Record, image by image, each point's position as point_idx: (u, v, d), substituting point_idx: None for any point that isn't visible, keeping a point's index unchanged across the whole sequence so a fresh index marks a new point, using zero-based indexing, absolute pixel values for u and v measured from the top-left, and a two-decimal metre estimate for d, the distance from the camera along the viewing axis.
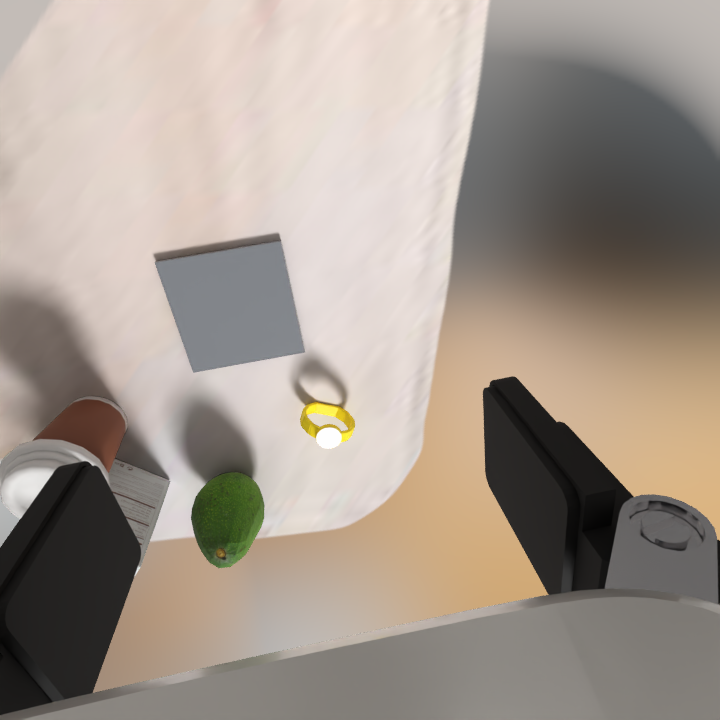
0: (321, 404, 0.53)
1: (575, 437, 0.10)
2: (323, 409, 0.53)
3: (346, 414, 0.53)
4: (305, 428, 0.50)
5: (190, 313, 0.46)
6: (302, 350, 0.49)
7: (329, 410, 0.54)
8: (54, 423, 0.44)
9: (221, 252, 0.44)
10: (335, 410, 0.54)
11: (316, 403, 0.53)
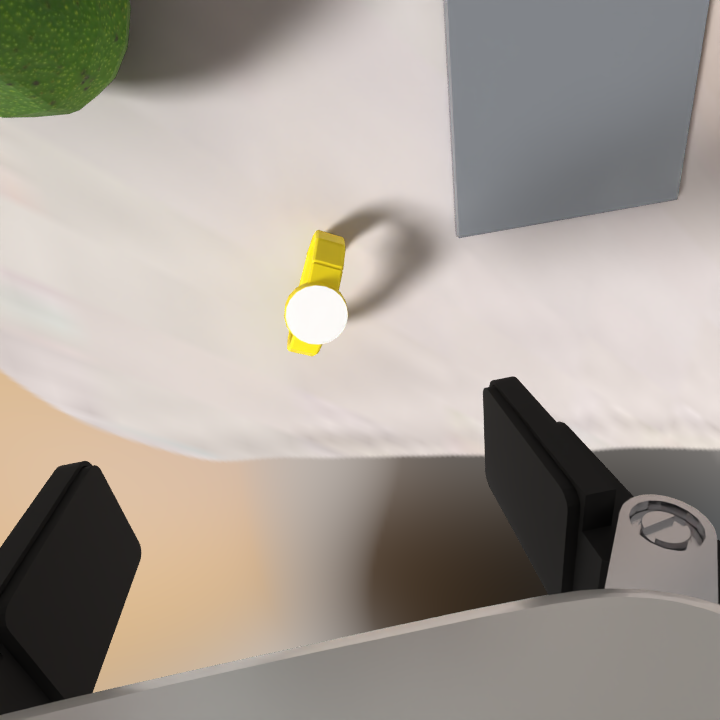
0: None
1: (575, 437, 0.10)
2: None
3: None
4: (321, 251, 0.20)
5: None
6: (463, 233, 0.24)
7: None
8: None
9: (695, 76, 0.22)
10: None
11: None
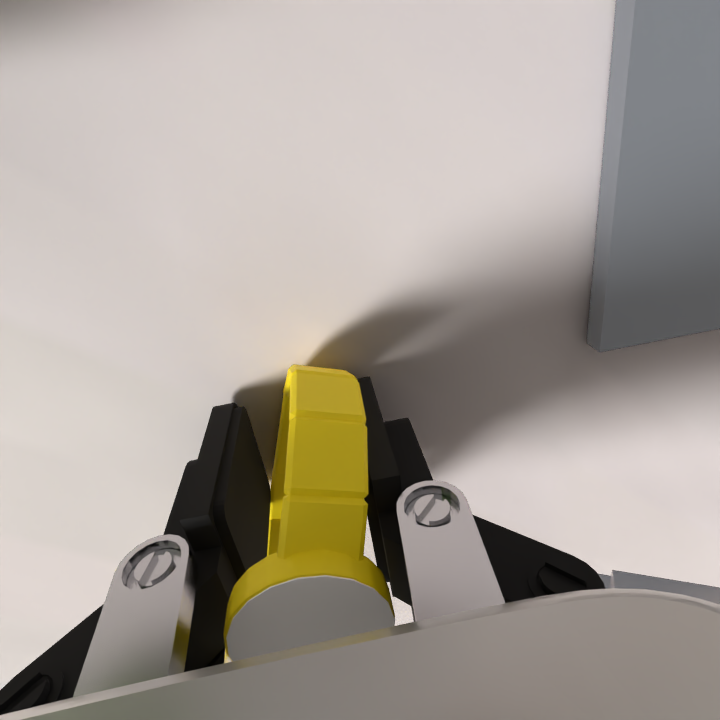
0: None
1: (413, 432, 0.11)
2: None
3: None
4: (308, 455, 0.08)
5: None
6: (610, 343, 0.12)
7: None
8: None
9: None
10: None
11: None
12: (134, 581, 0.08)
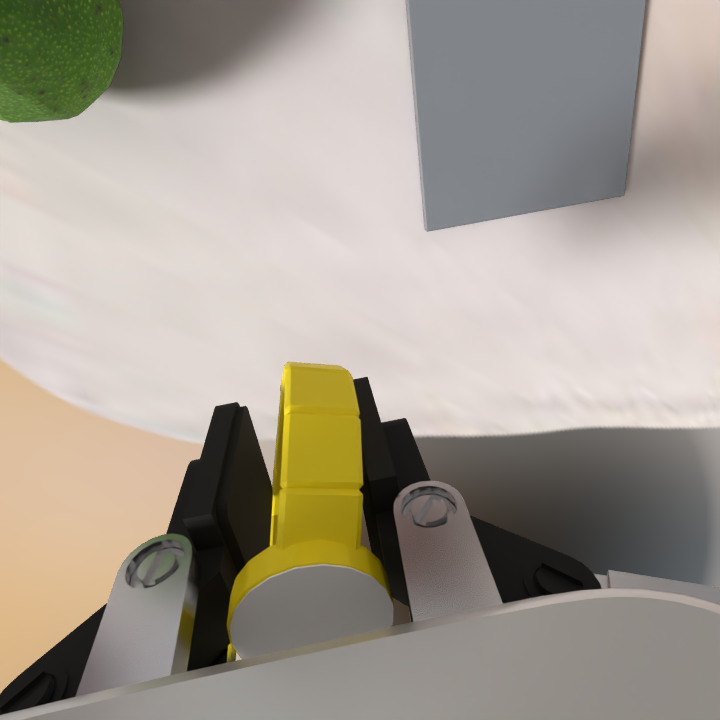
0: None
1: (410, 432, 0.11)
2: None
3: None
4: (302, 449, 0.08)
5: None
6: (431, 227, 0.27)
7: None
8: None
9: (634, 85, 0.25)
10: None
11: None
12: (137, 580, 0.08)
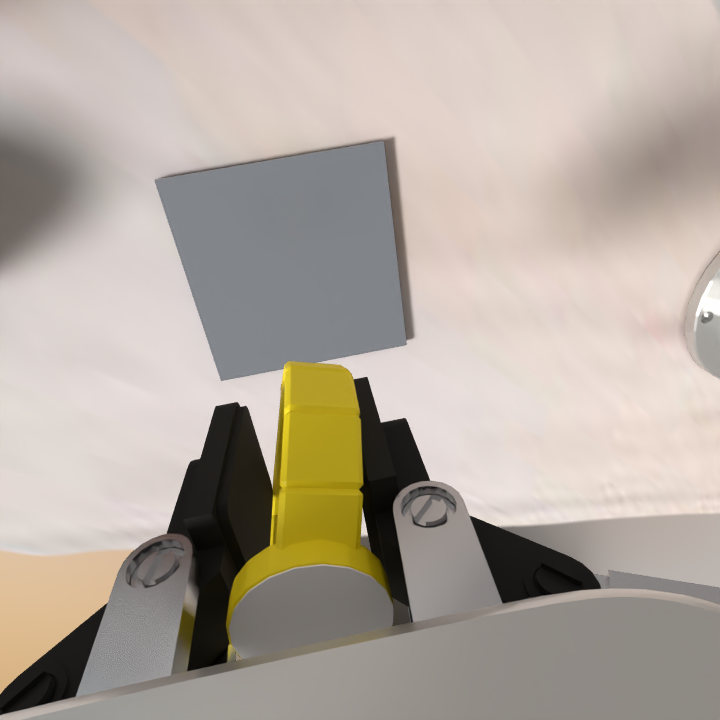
0: None
1: (410, 432, 0.11)
2: None
3: None
4: (302, 448, 0.08)
5: (287, 193, 0.25)
6: (224, 377, 0.29)
7: None
8: None
9: (395, 258, 0.27)
10: None
11: None
12: (138, 580, 0.08)
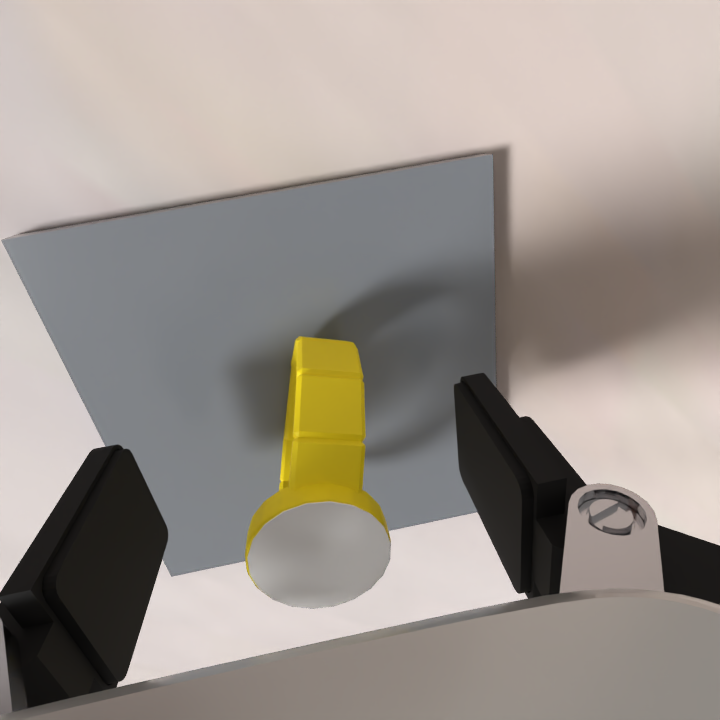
0: None
1: (539, 431, 0.10)
2: None
3: None
4: (313, 405, 0.09)
5: (288, 261, 0.12)
6: (177, 571, 0.16)
7: None
8: None
9: (493, 374, 0.14)
10: None
11: None
12: None
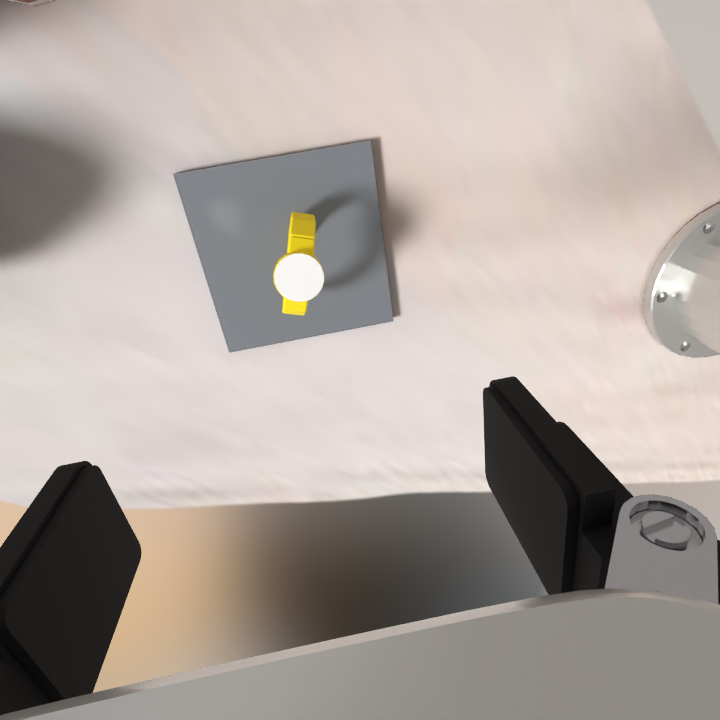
0: None
1: (575, 437, 0.10)
2: None
3: None
4: (296, 227, 0.25)
5: (287, 185, 0.28)
6: (232, 349, 0.33)
7: None
8: None
9: (382, 243, 0.31)
10: None
11: None
12: None
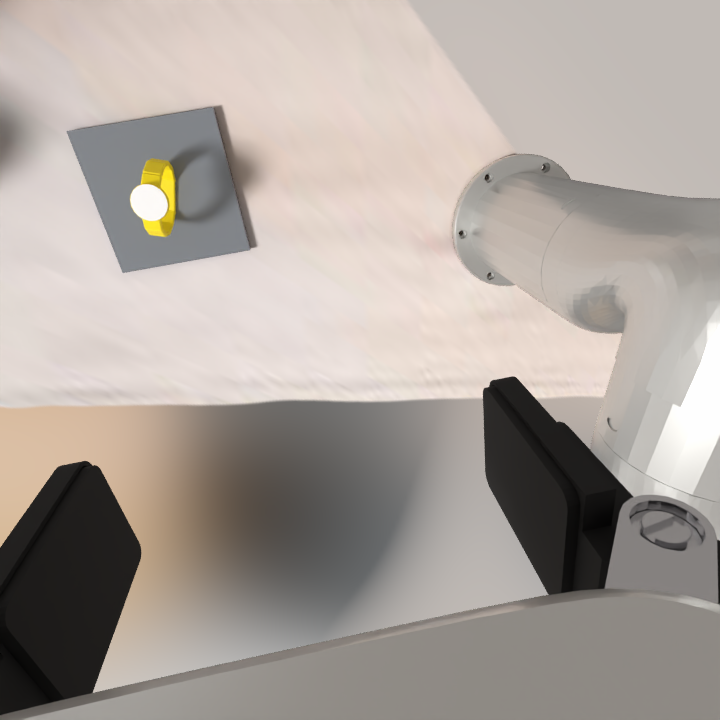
0: (173, 187, 0.40)
1: (575, 437, 0.10)
2: (166, 190, 0.40)
3: (170, 223, 0.41)
4: (148, 167, 0.36)
5: (153, 141, 0.39)
6: (124, 270, 0.43)
7: None
8: None
9: (232, 187, 0.41)
10: None
11: (174, 179, 0.40)
12: None
